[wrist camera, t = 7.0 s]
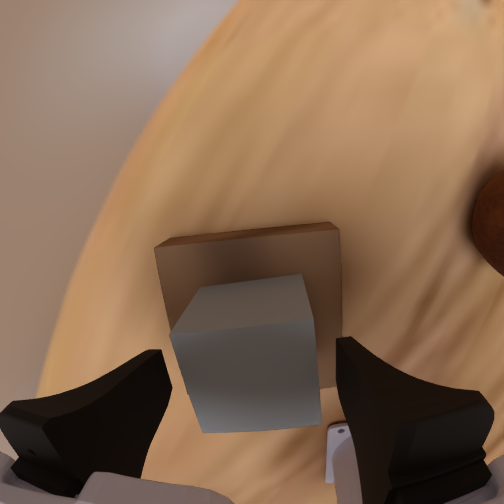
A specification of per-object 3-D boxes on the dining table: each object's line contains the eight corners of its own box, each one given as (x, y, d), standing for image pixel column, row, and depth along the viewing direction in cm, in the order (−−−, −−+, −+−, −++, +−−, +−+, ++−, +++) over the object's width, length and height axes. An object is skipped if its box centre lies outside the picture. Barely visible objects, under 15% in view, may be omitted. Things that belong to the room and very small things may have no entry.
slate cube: (301, 273, 15) (313, 318, 10) (311, 360, 16) (321, 424, 11) (200, 287, 15) (169, 334, 10) (220, 370, 16) (202, 432, 12)
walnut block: (328, 220, 17) (339, 229, 14) (333, 359, 19) (340, 386, 16) (172, 236, 18) (153, 247, 15) (198, 367, 20) (187, 394, 17)
